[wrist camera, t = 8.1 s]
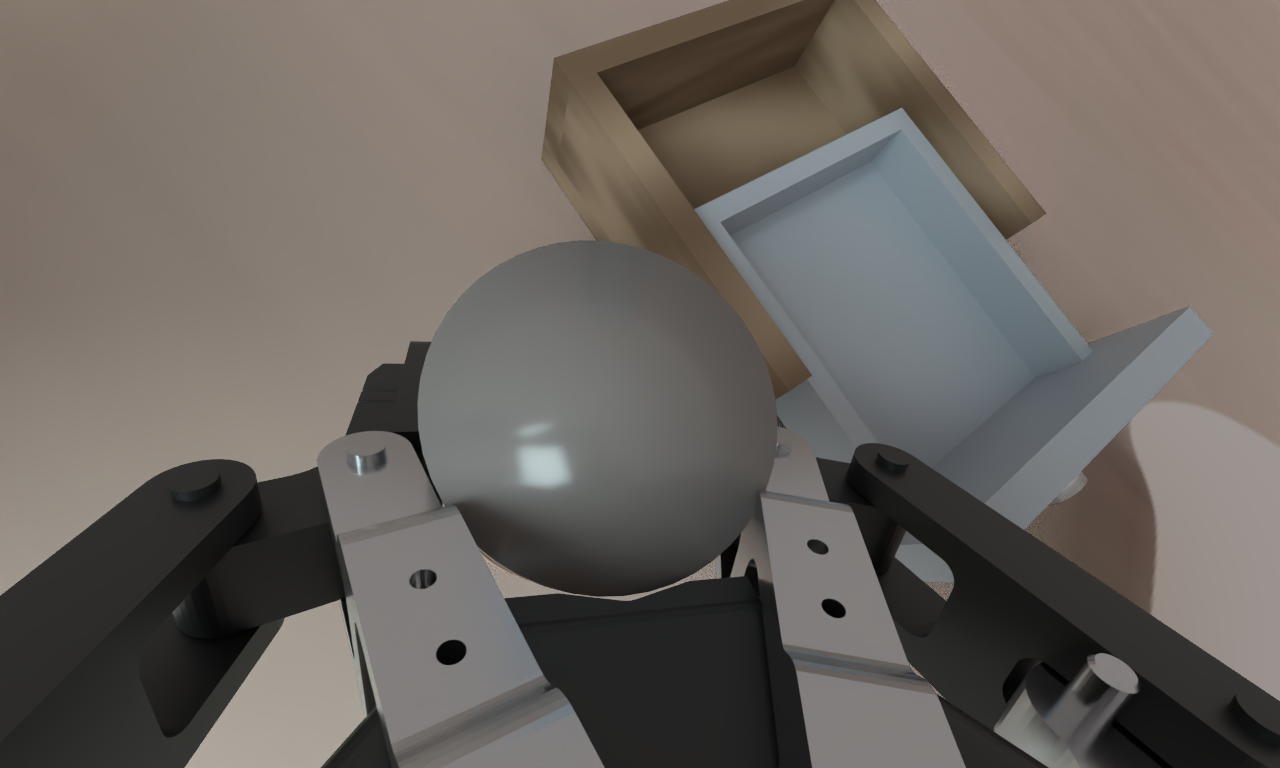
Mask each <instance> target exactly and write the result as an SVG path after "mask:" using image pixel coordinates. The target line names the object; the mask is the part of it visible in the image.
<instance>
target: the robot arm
mask: <svg viewBox="0 0 1280 768" xmlns="http://www.w3.org/2000/svg"><path fill="white" fill-rule="evenodd" d="M430 345H431V342H415V341H411V342H410V345H409V349H408V353H407V357H406V360H405V364H382V365H381V366H379V367H378V368H377V369H375V370H374V371H373V372H371V373H370V374H369V375H368V376H367V379H366V381H365V384H364V387H363V392H361V395H360V398H359V403H357V406H356V409H355V411H354V414H353V417H352V420H351V422H350V425H349V428H348V430H347V433H346V436H343V437H341V438H339V439H336V440H335V441H333V442H331V443H330V444H328V445H327V446H326V447H325V448H324V449H323V450H322V451H321V452H320V454H319V455H318V459H317V465H318V467H316V468H313V469H311V470H308V471H305V472H302V473H299V474H295V475H291V476H287V477H282V478H277V479H273V480H268V481H263V482H259V483H257V479H256V474H255V472H254V471H253V469H252V468H251V467H249V466H248V465H246V464H244V463H241V462H238V461H233V460H224V459H215V460H203V461H197V462H192V463H188V464H184V465H180V466H178V467H175V468H172V469H169V470H167V471H165V472H162V473H160V474H159V475H157V476H155V477H153V478H152V479H150V480H149V481H147V482H146V483H144V484H143V485H142V486H141V487H139V488H138V489H137V490H135V491H134V492H133V493H132V494H130V495H129V496H128V497H127V498H125V499H124V500H123V501H121V502H120V503H119V504H118V505H116V506H115V507H114V508H112V509H111V510H110V511H109V512H107V513H106V514H105V515H103V516H102V517H101V518H100V519H98V520H97V521H96V522H94V523H93V524H92V525H91V526H89V527H88V528H87V529H85V530H84V531H83V532H82V533H80V534H79V535H78V536H76V537H75V538H74V539H73V540H71V541H70V542H69V543H67V544H66V545H65V546H64V547H62V548H61V549H60V550H58V551H57V552H56V553H55V554H53V555H52V556H51V557H49V558H48V559H47V560H46V561H44V562H43V563H42V564H41V565H39V566H38V567H37V568H35V569H34V570H33V571H32V572H30V573H29V574H28V575H26V576H25V577H24V578H23V579H21V580H20V581H19V582H17V583H16V584H15V585H14V586H12V587H11V588H10V589H8V590H7V591H6V592H5V593H3V594H2V595H1V596H0V768H184V767H185V766H186V765H187V763H188V762H189V760H190V759H191V757H192V756H193V754H194V753H195V751H196V750H197V749H198V747H199V746H200V744H201V743H202V741H203V740H204V738H205V737H206V735H207V734H208V733H209V731H210V730H211V728H212V727H213V725H214V724H215V722H216V721H217V719H218V718H219V717H220V715H221V714H222V712H223V711H224V709H225V708H226V706H227V705H228V703H229V702H230V701H231V699H232V698H233V696H234V695H235V693H236V692H237V690H238V689H239V687H240V686H241V685H242V683H243V682H244V680H245V679H246V677H247V676H248V674H249V673H250V671H251V670H252V669H253V667H254V666H255V664H256V663H257V661H258V660H259V658H260V657H261V655H262V654H263V653H264V651H265V650H266V648H267V647H268V645H269V644H270V642H271V641H272V639H273V638H274V637H275V635H276V634H277V632H278V631H279V629H280V627H281V626H282V624H283V621H284V618H285V617H288V616H291V615H294V614H297V613H300V612H303V611H306V610H309V609H312V608H316V607H319V606H322V605H325V604H328V603H331V602H334V601H337V600H339V602H340V607H341V611H342V616H343V620H344V625H345V629H346V634H347V638H348V643H349V647H350V651H351V656H352V660H353V665H354V669H355V674H356V678H357V683H358V688H359V693H360V699H361V704H362V710H363V715H364V720H363V721H362V722H361V723H360V724H359V725H358V727H357V728H356V729H355V730H354V731H353V732H352V733H351V734H350V736H349V737H348V738H347V739H346V740H345V741H344V742H343V743H342V745H341V746H340V747H339V748H338V749H337V750H336V751H335V752H334V753H333V755H332V756H331V757H330V758H329V759H328V760H327V761H326V762H325V764H324V765H323V766H322V767H321V768H1280V701H1279V700H1277V699H1276V698H1274V697H1273V696H1271V695H1270V694H1268V693H1266V692H1265V691H1264V690H1262V689H1261V688H1259V687H1258V686H1256V685H1255V684H1253V683H1252V682H1250V681H1249V680H1247V679H1246V678H1244V677H1243V676H1241V675H1240V674H1238V673H1237V672H1235V671H1234V670H1232V669H1231V668H1229V667H1228V666H1226V665H1225V664H1223V663H1222V662H1220V661H1219V660H1217V659H1216V658H1214V657H1213V656H1211V655H1210V654H1208V653H1207V652H1205V651H1203V650H1202V649H1201V648H1199V647H1198V646H1196V645H1195V644H1193V643H1192V642H1190V641H1189V640H1187V639H1186V638H1184V637H1183V636H1181V635H1180V634H1178V633H1177V632H1176V631H1174V630H1173V629H1171V628H1170V627H1168V626H1167V625H1165V624H1163V623H1162V622H1161V621H1159V620H1158V619H1156V618H1155V617H1153V616H1152V615H1150V614H1149V613H1147V612H1146V611H1144V610H1143V609H1141V608H1140V607H1138V606H1137V605H1135V604H1134V603H1132V602H1131V601H1129V600H1128V599H1126V598H1125V597H1123V596H1122V595H1120V594H1119V593H1117V592H1116V591H1114V590H1113V589H1111V588H1110V587H1108V586H1107V585H1105V584H1104V583H1102V582H1101V581H1099V580H1098V579H1096V578H1095V577H1093V576H1092V575H1090V574H1089V573H1087V572H1086V571H1084V570H1083V569H1081V568H1080V567H1078V566H1077V565H1076V564H1074V563H1073V562H1071V561H1070V560H1068V559H1067V558H1065V557H1064V556H1062V555H1061V554H1059V553H1058V552H1056V551H1055V550H1053V549H1052V548H1050V547H1049V546H1047V545H1046V544H1044V543H1043V542H1041V541H1040V540H1038V539H1037V538H1035V537H1034V536H1032V535H1031V534H1029V533H1028V532H1026V531H1025V530H1023V529H1022V528H1020V527H1019V526H1017V525H1016V524H1014V523H1013V522H1011V521H1010V520H1008V519H1007V518H1005V517H1004V516H1002V515H1001V514H999V513H998V512H996V511H995V510H993V509H992V508H990V507H989V506H987V505H986V504H984V503H983V502H981V501H980V500H978V499H977V498H975V497H974V496H972V495H971V494H970V493H968V492H967V491H965V490H964V489H962V488H961V487H959V486H958V485H956V484H955V483H953V482H952V481H950V480H949V479H947V478H946V477H944V476H943V475H941V474H940V473H938V472H937V471H935V470H934V469H932V468H931V467H929V466H928V465H926V464H925V463H923V462H922V461H920V460H919V459H917V458H916V457H914V456H913V455H911V454H909V453H907V452H905V451H903V450H901V449H898V448H896V447H893V446H889V445H885V444H880V443H866V444H862V445H859V446H858V447H857V448H856V449H855V452H854V454H853V457H852V460H851V463H846V462H840V461H834V460H829V459H823V458H818V457H815V454H814V451H813V448H812V446H811V445H810V443H809V442H808V441H807V440H806V439H804V438H803V437H802V436H800V435H799V434H797V433H795V432H793V431H791V430H788V429H786V428H782V427H779V426H778V427H777V447H776V453H775V459H774V465H773V469H772V472H771V475H770V479H769V482H768V485H767V488H766V490H765V491H763V490H757V491H756V502H755V513H754V514H753V516H752V518H751V519H750V521H749V522H748V524H747V526H746V527H745V528H744V530H743V531H742V532H741V533H740V534H739V535H738V537H737V538H736V539H735V540H734V541H733V543H732V544H731V545H730V546H729V547H728V548H727V549H725V550H724V551H723V552H722V553H721V554H720V555H719V556H718V557H717V558H715V575H716V579H708V580H698V581H689V582H686V583H683V584H680V585H677V586H674V587H671V588H668V589H665V590H662V591H659V592H656V593H653V594H651V595H648V596H645V597H642V598H639V599H636V600H632V601H619V600H610V599H601V598H593V597H584V596H575V595H566V594H548V595H537V596H526V597H515V598H505V599H504V597H503V595H502V593H501V592H500V590H499V588H498V586H497V584H496V582H495V580H494V578H493V576H492V574H491V572H490V570H489V568H488V566H487V564H486V562H485V560H484V558H483V556H482V554H481V553H480V551H479V549H478V547H477V545H476V543H475V541H474V539H473V537H472V535H471V533H470V531H469V529H468V527H467V525H466V523H465V521H464V519H463V517H462V515H461V513H460V512H459V510H458V509H457V507H456V506H455V505H449V506H445V507H442V503H443V502H442V500H441V498H440V496H439V494H438V492H437V490H436V488H435V486H434V484H433V482H432V480H431V477H430V474H429V471H428V468H427V465H426V462H425V459H424V456H423V452H422V446H421V441H420V435H419V430H418V405H417V403H418V394H419V384H420V377H421V373H422V369H423V366H424V362H425V358H426V354H427V352H428V350H429V347H430ZM906 531H907V532H909V533H910V534H911V535H912V536H914V537H915V538H916V539H917V540H919V541H920V542H921V543H922V544H924V545H925V546H926V547H927V548H929V549H930V550H931V551H932V552H934V553H935V554H936V555H938V556H939V557H940V558H941V559H942V560H943V561H945V563H946V564H947V565H948V566H949V568H950V570H951V572H952V574H953V577H954V588H953V590H952V592H951V594H950V596H949V598H948V600H947V601H946V600H944V599H943V598H942V597H941V596H940V595H939V594H937V593H936V592H935V591H934V590H933V589H932V588H930V587H929V586H928V585H927V584H926V583H925V582H923V581H922V580H921V579H920V578H919V577H918V576H916V575H915V574H914V573H913V572H912V571H911V570H909V569H908V568H907V567H906V566H905V565H904V564H902V563H901V562H900V561H899V560H898V559H897V558H895V555H896V553H897V550H898V548H899V546H900V544H901V541H902V539H903V537H904V535H905V532H906ZM908 662H909V663H910V664H911V665H912V666H913V667H914V668H915V669H916V670H917V671H918V672H919V673H920V674H921V675H922V676H923V677H924V678H925V679H926V680H927V681H928V682H929V683H930V684H931V685H932V686H933V687H934V688H935V689H936V690H937V691H938V692H939V693H940V694H941V695H942V696H943V697H944V698H945V699H946V700H945V699H944V698H942V697H940V696H939V695H937V694H936V693H935V691H934V689H933V688H932V687H931V685H930V684H929V683H928V682H927V681H926V680H925V679H924V678H922V677H920V676H918V675H916V674H915V673H914V672H913V671H912V669H911V667H910V666H909V663H908Z"/></svg>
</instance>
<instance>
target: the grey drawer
mask: <svg viewBox="0 0 1280 768" xmlns="http://www.w3.org/2000/svg"><path fill="white" fill-rule="evenodd" d="M694 210H695V211H696V213H697V214H698V216H699V217H700V218H701V220H702V221H703V223H704V224H705V226H706V227H707V228H708V230H709V231H710V233H711V234H712V235H713V237H714V238H715V240H716V241H717V242H718V244H719V245H720V247H721V248H722V249H723V251H724V252H725V254H726V255H727V256H728V258H729V259H730V261H731V262H732V263H733V265H734V266H735V268H736V269H737V270H738V272H739V273H740V275H741V276H742V277H743V279H744V280H745V282H746V283H747V284H748V286H749V287H750V289H751V290H752V291H753V293H754V294H755V296H756V297H757V299H758V300H759V301H760V303H761V304H762V306H763V307H764V308H765V310H766V311H767V313H768V314H769V315H770V317H771V318H772V320H773V321H774V322H775V324H776V325H777V327H778V328H779V329H780V331H781V332H782V334H783V335H784V336H785V338H786V339H787V341H788V342H789V343H790V345H791V346H792V348H793V349H794V350H795V352H796V353H797V355H798V356H799V357H800V359H801V360H802V362H803V363H804V364H805V366H806V367H807V369H808V370H809V372H810V373H811V374H812V376H811V377H809V378H808V379H807V380H805V381H804V382H802V383H801V384H799V385H798V386H796V387H795V388H794V389H792V390H791V391H789V392H788V393H786V394H784V395H782V396H781V397H779V398H777V399H775V400H776V410H777V416H778V417H779V419H780V420H781V421H782V423H783V424H784V426H785V427H786V429H788V430H791V431H793V432H795V433H797V434H799V435H800V436H802V437H803V438H804V439H806V440H807V441H808V442H809V443H810V445H811V446H812V448H813V451H814V454H815V457H818V458H823V459H829V460H834V461H840V462H846V463H851V460H852V457H853V454H854V452H855V449H856V448H857V447H858V446H859V445H862V444H866V443H880V444H885V445H889V446H893V447H896V448H898V449H901V450H903V451H905V452H907V453H909V454H911V455H913V456H914V457H916V458H917V459H919V460H920V461H922V462H923V463H925V464H926V465H928V466H929V467H931V468H932V469H934V470H935V471H937V472H938V473H940V474H941V475H943V476H944V477H946V478H947V479H949V480H950V481H952V482H953V483H955V484H956V485H958V486H959V487H961V488H962V489H964V490H965V491H967V492H968V493H970V494H971V495H972V496H974V497H975V498H977V499H978V500H980V501H981V502H983V503H984V504H986V505H987V506H989V507H990V508H992V509H993V510H995V511H996V512H998V513H999V514H1001V515H1002V516H1004V517H1005V518H1007V519H1008V520H1010V521H1011V522H1013V523H1014V524H1016V525H1017V526H1019V527H1020V528H1022V529H1023V530H1025V529H1026V528H1027V527H1028V526H1029V525H1030V523H1031V522H1032V521H1033V520H1034V519H1035V518H1036V517H1037V516H1038V515H1039V514H1040V513H1041V512H1042V511H1043V510H1044V509H1045V508H1046V507H1047V506H1050V505H1054V504H1056V503H1059V502H1062V501H1064V500H1066V499H1068V498H1070V497H1072V496H1073V495H1075V494H1076V493H1078V492H1079V491H1080V490H1081V489H1082V488H1083V487H1084V486H1085V485H1086V483H1087V478H1086V477H1085V475H1084V474H1083V473H1082V470H1083V469H1084V468H1085V467H1086V466H1087V465H1088V464H1089V463H1090V462H1091V461H1092V460H1093V458H1094V457H1095V456H1096V455H1097V454H1098V453H1099V452H1100V451H1101V450H1102V449H1103V448H1104V447H1105V446H1106V445H1107V444H1108V443H1109V442H1110V441H1111V440H1112V439H1113V438H1114V437H1115V436H1116V435H1117V434H1118V433H1119V432H1120V431H1121V430H1122V429H1123V428H1124V427H1125V425H1126V424H1127V423H1128V422H1129V421H1130V420H1131V419H1132V418H1133V417H1134V416H1135V415H1136V414H1137V413H1138V412H1139V411H1140V410H1141V409H1142V408H1143V407H1144V406H1145V405H1146V404H1147V403H1148V402H1149V401H1150V400H1151V399H1152V398H1153V397H1154V396H1155V395H1156V394H1157V392H1158V391H1159V390H1160V389H1161V388H1162V387H1163V386H1164V385H1165V384H1166V383H1167V382H1168V381H1169V380H1170V379H1171V378H1172V377H1173V376H1174V375H1175V374H1176V373H1177V372H1178V371H1179V370H1180V369H1181V368H1182V367H1183V366H1184V365H1185V364H1186V363H1187V362H1188V361H1189V359H1190V358H1191V357H1192V356H1193V355H1194V354H1195V353H1196V352H1197V351H1198V350H1199V349H1200V348H1201V347H1202V346H1203V345H1204V344H1205V343H1206V342H1207V341H1208V340H1209V339H1210V338H1211V337H1212V336H1213V335H1214V333H1213V332H1212V331H1211V330H1210V328H1209V327H1208V326H1207V325H1206V324H1205V322H1204V321H1203V320H1202V319H1201V317H1200V316H1199V315H1198V314H1197V313H1196V311H1195V310H1194V309H1193V308H1192V306H1189V307H1186V308H1183V309H1180V310H1178V311H1175V312H1172V313H1170V314H1167V315H1164V316H1161V317H1159V318H1156V319H1153V320H1151V321H1148V322H1145V323H1142V324H1140V325H1137V326H1134V327H1132V328H1129V329H1126V330H1123V331H1121V332H1118V333H1115V334H1113V335H1110V336H1107V337H1104V338H1102V339H1099V340H1096V341H1094V342H1091V343H1088V344H1087V343H1086V341H1085V340H1084V339H1083V337H1082V336H1081V335H1080V334H1079V332H1078V331H1077V330H1076V329H1075V327H1074V326H1073V325H1072V323H1071V322H1070V321H1069V320H1068V318H1067V317H1066V316H1065V315H1064V313H1063V312H1062V311H1061V309H1060V308H1059V307H1058V306H1057V304H1056V303H1055V302H1054V301H1053V299H1052V298H1051V297H1050V295H1049V294H1048V293H1047V292H1046V290H1045V289H1044V288H1043V287H1042V285H1041V284H1040V283H1039V281H1038V280H1037V279H1036V278H1035V276H1034V275H1033V274H1032V273H1031V271H1030V270H1029V269H1028V267H1027V266H1026V265H1025V264H1024V262H1023V261H1022V260H1021V259H1020V257H1019V256H1018V255H1017V253H1016V252H1015V251H1014V250H1013V248H1012V247H1011V246H1010V245H1009V243H1008V242H1007V241H1006V239H1005V238H1004V237H1003V236H1002V234H1001V233H1000V232H999V231H998V229H997V228H996V227H995V225H994V224H993V223H992V222H991V220H990V219H989V218H988V217H987V215H986V214H985V213H984V211H983V210H982V209H981V208H980V206H979V205H978V204H977V203H976V201H975V200H974V199H973V197H972V196H971V195H970V194H969V192H968V191H967V190H966V189H965V187H964V186H963V185H962V183H961V182H960V181H959V180H958V178H957V177H956V176H955V175H954V173H953V172H952V171H951V169H950V168H949V167H948V166H947V164H946V163H945V162H944V161H943V159H942V158H941V157H940V155H939V154H938V153H937V152H936V150H935V149H934V148H933V147H932V145H931V144H930V143H929V141H928V140H927V139H926V138H925V136H924V135H923V134H922V133H921V131H920V130H919V129H918V127H917V126H916V125H915V124H914V122H913V121H912V120H911V119H910V117H909V116H908V115H907V113H906V112H905V111H904V110H903V108H900V109H898V110H896V111H894V112H892V113H890V114H888V115H886V116H884V117H882V118H880V119H878V120H875V121H873V122H871V123H869V124H867V125H865V126H863V127H861V128H859V129H857V130H855V131H853V132H851V133H849V134H847V135H845V136H843V137H841V138H839V139H837V140H835V141H833V142H831V143H829V144H827V145H824V146H822V147H820V148H818V149H816V150H814V151H812V152H810V153H808V154H806V155H804V156H802V157H800V158H798V159H796V160H794V161H792V162H790V163H788V164H786V165H784V166H782V167H780V168H778V169H776V170H774V171H771V172H769V173H767V174H765V175H763V176H761V177H759V178H757V179H755V180H753V181H751V182H749V183H747V184H745V185H743V186H741V187H739V188H737V189H735V190H733V191H731V192H729V193H727V194H725V195H723V196H720V197H718V198H716V199H714V200H712V201H710V202H708V203H706V204H704V205H702V206H700V207H698V208H696V209H694ZM895 558H897V559H898V560H899V561H900V562H901V563H902V564H904V565H905V566H906V567H907V568H908V569H909V570H911V571H912V572H913V573H914V574H915V575H916V576H918V577H919V578H920V579H921V580H922V581H923V582H945V583H954V577H953V574H952V572H951V570H950V568H949V566H948V565H947V564H946V563H945V561H943V560H942V559H941V558H940V557H939V556H938V555H936V554H935V553H934V552H932V551H931V550H930V549H929V548H927V547H926V546H925V545H924V544H922V543H921V542H920V541H919V540H917V539H916V538H915V537H914V536H912V535H911V534H910V533H909V532H907V531H906V532H905V535H904V537H903V539H902V541H901V544H900V546H899V548H898V550H897V553H896V555H895Z"/></svg>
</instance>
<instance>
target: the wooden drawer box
mask: <svg viewBox="0 0 1280 768" xmlns="http://www.w3.org/2000/svg"><path fill="white" fill-rule="evenodd" d="M900 108H903V110H904V111H905V112H906V113H907V115H908V116H909V117H910V119H911V120H912V121H913V122H914V124H915V125H916V126H917V127H918V129H919V130H920V131H921V133H922V134H923V135H924V136H925V138H926V139H927V140H928V141H929V143H930V144H931V145H932V147H933V148H934V149H935V150H936V152H937V153H938V154H939V155H940V157H941V158H942V159H943V161H944V162H945V163H946V164H947V166H948V167H949V168H950V169H951V171H952V172H953V173H954V175H955V176H956V177H957V178H958V180H959V181H960V182H961V183H962V185H963V186H964V187H965V189H966V190H967V191H968V192H969V194H970V195H971V196H972V197H973V199H974V200H975V201H976V203H977V204H978V205H979V206H980V208H981V209H982V210H983V211H984V213H985V214H986V215H987V217H988V218H989V219H990V220H991V222H992V223H993V224H994V225H995V227H996V228H997V229H998V231H999V232H1000V233H1001V234H1002V236H1003V237H1004V238H1005V239H1008V238H1009V237H1011V236H1012V235H1014V234H1016V233H1017V232H1019V231H1020V230H1022V229H1024V228H1025V227H1027V226H1028V225H1030V224H1032V223H1033V222H1034V221H1036V220H1037V219H1039V218H1040V217H1042V216H1043V215H1045V214H1046V212H1045V211H1044V210H1043V209H1042V207H1041V206H1040V205H1039V204H1038V202H1037V201H1036V200H1035V199H1034V197H1033V196H1032V195H1031V194H1030V192H1029V191H1028V190H1027V189H1026V188H1025V186H1024V185H1023V184H1022V183H1021V181H1020V180H1019V179H1018V178H1017V176H1016V175H1015V174H1014V173H1013V171H1012V170H1011V169H1010V168H1009V166H1008V165H1007V164H1006V163H1005V161H1004V160H1003V159H1002V158H1001V156H1000V155H999V154H998V153H997V151H996V150H995V149H994V148H993V146H992V145H991V144H990V143H989V141H988V140H987V139H986V138H985V136H984V135H983V134H982V133H981V131H980V130H979V129H978V128H977V126H976V125H975V124H974V123H973V121H972V120H971V119H970V118H969V116H968V115H967V114H966V113H965V111H964V110H963V109H962V108H961V106H960V105H959V104H958V103H957V101H956V100H955V99H954V98H953V96H952V95H951V94H950V93H949V91H948V90H947V89H946V88H945V86H944V85H943V84H942V83H941V81H940V80H939V79H938V78H937V76H936V75H935V74H934V73H933V71H932V70H931V69H930V68H929V66H928V65H927V64H926V63H925V61H924V60H923V59H922V58H921V56H920V55H919V54H918V53H917V51H916V50H915V49H914V48H913V46H912V45H911V44H910V43H909V41H908V40H907V39H906V38H905V36H904V35H903V34H902V33H901V31H900V30H899V29H898V28H897V26H896V25H895V24H894V23H893V21H892V20H891V19H890V18H889V16H888V15H887V14H886V13H885V11H884V10H883V9H882V8H881V7H880V5H879V4H878V3H877V2H876V0H729V1H726V2H723V3H720V4H717V5H714V6H711V7H708V8H705V9H702V10H699V11H696V12H693V13H690V14H687V15H684V16H681V17H678V18H674V19H671V20H668V21H665V22H662V23H659V24H656V25H653V26H650V27H647V28H644V29H641V30H638V31H635V32H632V33H629V34H626V35H623V36H620V37H617V38H614V39H611V40H608V41H605V42H601V43H598V44H595V45H592V46H589V47H586V48H583V49H580V50H577V51H574V52H571V53H568V54H565V55H562V56H559V57H556V58H554V64H553V72H552V80H551V88H550V96H549V104H548V112H547V120H546V128H545V136H544V144H543V152H542V161H543V162H544V164H545V165H546V167H547V168H548V169H549V171H550V172H551V174H552V175H553V177H554V178H555V180H556V181H557V183H558V184H559V186H560V187H561V188H562V190H563V191H564V193H565V194H566V196H567V197H568V199H569V200H570V202H571V203H572V205H573V206H574V208H575V209H576V210H577V212H578V213H579V215H580V216H581V218H582V219H583V221H584V222H585V224H586V225H587V227H588V228H589V230H590V231H591V232H592V234H593V235H594V237H595V238H596V240H597V241H607V242H614V243H622V244H627V245H630V246H634V247H638V248H642V249H646V250H648V251H651V252H654V253H656V254H659V255H662V256H664V257H666V258H668V259H670V260H672V261H674V262H676V263H678V264H680V265H682V266H684V267H685V268H687V269H688V270H690V271H691V272H693V273H694V274H696V275H697V276H699V277H700V278H702V279H703V280H704V281H705V282H707V283H708V284H709V285H710V286H711V287H713V288H714V289H715V290H716V291H717V292H718V293H719V294H720V295H721V296H722V297H723V298H724V299H725V300H726V301H727V302H728V303H729V304H730V305H731V306H732V307H733V309H734V310H735V311H736V312H737V314H738V315H739V316H740V318H741V319H742V320H743V321H744V323H745V324H746V326H747V328H748V329H749V331H750V332H751V334H752V336H753V337H754V339H755V341H756V343H757V345H758V347H759V349H760V351H761V353H762V356H763V358H764V360H765V363H766V366H767V369H768V372H769V375H770V378H771V381H772V385H773V390H774V395H775V399H777V398H779V397H781V396H782V395H784V394H786V393H788V392H789V391H791V390H792V389H794V388H795V387H796V386H798V385H799V384H801V383H802V382H804V381H805V380H807V379H808V378H809V377H811V376H812V374H811V373H810V372H809V370H808V369H807V367H806V366H805V364H804V363H803V362H802V360H801V359H800V357H799V356H798V355H797V353H796V352H795V350H794V349H793V348H792V346H791V345H790V343H789V342H788V341H787V339H786V338H785V336H784V335H783V334H782V332H781V331H780V329H779V328H778V327H777V325H776V324H775V322H774V321H773V320H772V318H771V317H770V315H769V314H768V313H767V311H766V310H765V308H764V307H763V306H762V304H761V303H760V301H759V300H758V299H757V297H756V296H755V294H754V293H753V291H752V290H751V289H750V287H749V286H748V284H747V283H746V282H745V280H744V279H743V277H742V276H741V275H740V273H739V272H738V270H737V269H736V268H735V266H734V265H733V263H732V262H731V261H730V259H729V258H728V256H727V255H726V254H725V252H724V251H723V249H722V248H721V247H720V245H719V244H718V242H717V241H716V240H715V238H714V237H713V235H712V234H711V233H710V231H709V230H708V228H707V227H706V226H705V224H704V223H703V221H702V220H701V218H700V217H699V216H698V214H697V213H696V211H695V210H694V209H696V208H698V207H700V206H702V205H704V204H706V203H708V202H710V201H712V200H714V199H716V198H718V197H720V196H723V195H725V194H727V193H729V192H731V191H733V190H735V189H737V188H739V187H741V186H743V185H745V184H747V183H749V182H751V181H753V180H755V179H757V178H759V177H761V176H763V175H765V174H767V173H769V172H771V171H774V170H776V169H778V168H780V167H782V166H784V165H786V164H788V163H790V162H792V161H794V160H796V159H798V158H800V157H802V156H804V155H806V154H808V153H810V152H812V151H814V150H816V149H818V148H820V147H822V146H824V145H827V144H829V143H831V142H833V141H835V140H837V139H839V138H841V137H843V136H845V135H847V134H849V133H851V132H853V131H855V130H857V129H859V128H861V127H863V126H865V125H867V124H869V123H871V122H873V121H875V120H878V119H880V118H882V117H884V116H886V115H888V114H890V113H892V112H894V111H896V110H898V109H900Z"/></svg>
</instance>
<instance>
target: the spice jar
mask: <svg viewBox="0 0 1280 768" xmlns="http://www.w3.org/2000/svg"><path fill="white" fill-rule="evenodd" d="M417 405H418V430H419V435H420V441H421V446H422V452H423V456H424V459H425V462H426V465H427V468H428V471H429V474H430V477H431V480H432V482H433V484H434V486H435V488H436V490H437V492H438V494H439V496H440V498H441V500H442V502H443V504H444V505H445V506H449V505H455V506H456V507H457V509H458V510H459V512H460V513H461V515H462V517H463V519H464V521H465V523H466V525H467V527H468V529H469V531H470V533H471V535H472V537H473V539H474V541H475V543H476V545H477V547H478V549H479V551H480V553H481V554H482V556H483V558H484V560H485V561H487V562H488V563H490V564H491V565H493V566H495V567H496V568H498V569H500V570H503V571H505V572H507V573H510V574H513V575H515V576H518V577H521V578H524V579H526V580H529V581H532V582H535V583H537V584H540V585H543V586H546V587H549V588H553V589H557V590H561V591H564V592H568V593H572V594H581V595H589V596H626V595H632V594H638V593H644V592H649V591H652V590H655V589H658V588H662V587H665V586H668V585H671V584H673V583H675V582H677V581H680V580H682V579H684V578H686V577H688V576H690V575H692V574H694V573H695V572H697V571H698V570H700V569H701V568H703V567H704V566H706V565H707V564H709V563H710V562H712V561H713V560H714V559H715V558H717V557H718V556H719V555H720V554H721V553H722V552H723V551H724V550H725V549H727V548H728V547H729V546H730V545H731V544H732V543H733V541H734V540H735V539H736V538H737V537H738V535H739V534H740V533H741V532H742V531H743V530H744V528H745V527H746V526H747V524H748V522H749V521H750V519H751V518H752V516H753V514H754V513H755V502H756V491H757V490H763V491H765V490H766V488H767V485H768V482H769V479H770V475H771V472H772V469H773V465H774V459H775V453H776V447H777V427H778V422H777V410H776V400H775V395H774V390H773V385H772V381H771V378H770V375H769V372H768V369H767V366H766V363H765V360H764V358H763V356H762V353H761V351H760V349H759V347H758V345H757V343H756V341H755V339H754V337H753V336H752V334H751V332H750V331H749V329H748V328H747V326H746V324H745V323H744V321H743V320H742V319H741V318H740V316H739V315H738V314H737V312H736V311H735V310H734V309H733V307H732V306H731V305H730V304H729V303H728V302H727V301H726V300H725V299H724V298H723V297H722V296H721V295H720V294H719V293H718V292H717V291H716V290H715V289H714V288H713V287H711V286H710V285H709V284H708V283H707V282H705V281H704V280H703V279H702V278H700V277H699V276H697V275H696V274H694V273H693V272H691V271H690V270H688V269H687V268H685V267H684V266H682V265H680V264H678V263H676V262H674V261H672V260H670V259H668V258H666V257H664V256H662V255H659V254H656V253H654V252H651V251H648V250H646V249H642V248H638V247H634V246H630V245H627V244H622V243H614V242H607V241H572V242H563V243H556V244H552V245H548V246H543V247H539V248H536V249H533V250H531V251H528V252H525V253H522V254H520V255H517V256H515V257H513V258H511V259H509V260H508V261H506V262H504V263H502V264H500V265H498V266H496V267H495V268H494V269H492V270H491V271H489V272H488V273H487V274H485V275H484V276H482V277H481V278H479V279H478V280H477V281H476V282H475V283H474V284H473V285H472V286H471V287H470V288H469V289H468V290H467V291H465V292H464V293H463V294H462V295H461V297H460V298H459V299H458V300H457V302H456V303H455V304H454V305H453V307H452V308H451V309H450V310H449V311H448V313H447V314H446V316H445V318H444V319H443V321H442V323H441V325H440V326H439V328H438V330H437V331H436V333H435V335H434V338H433V340H432V342H431V345H430V347H429V350H428V352H427V354H426V358H425V362H424V366H423V369H422V373H421V377H420V384H419V394H418V403H417Z"/></svg>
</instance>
